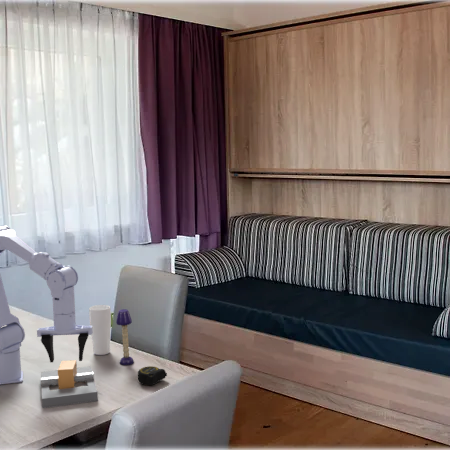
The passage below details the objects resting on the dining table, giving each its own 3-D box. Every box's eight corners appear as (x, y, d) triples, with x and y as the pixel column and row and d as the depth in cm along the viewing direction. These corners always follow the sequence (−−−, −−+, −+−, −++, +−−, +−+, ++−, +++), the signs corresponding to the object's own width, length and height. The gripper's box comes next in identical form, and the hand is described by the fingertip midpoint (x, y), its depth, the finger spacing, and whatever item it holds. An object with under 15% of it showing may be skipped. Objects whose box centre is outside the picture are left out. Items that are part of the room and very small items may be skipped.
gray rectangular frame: (42, 408, 164) (41, 398, 164) (41, 380, 183) (40, 371, 183) (97, 400, 168) (97, 391, 168) (91, 374, 187) (90, 366, 187)
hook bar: (41, 385, 172) (40, 380, 172) (41, 383, 174) (40, 377, 174) (94, 379, 176) (93, 373, 176) (93, 377, 178) (93, 371, 178)
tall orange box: (58, 391, 172) (57, 369, 171) (62, 381, 179) (61, 360, 178) (74, 390, 172) (72, 369, 171) (77, 380, 179) (76, 360, 178)
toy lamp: (130, 366, 193) (128, 312, 191) (115, 365, 194) (113, 311, 192) (135, 360, 198) (133, 308, 195) (121, 360, 198) (119, 307, 196)
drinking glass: (102, 357, 201) (100, 311, 199) (86, 354, 204) (84, 308, 202) (116, 351, 206) (115, 306, 204) (101, 348, 210) (99, 303, 208)
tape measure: (151, 389, 176) (151, 376, 175) (132, 384, 179) (132, 371, 179) (167, 381, 181) (166, 368, 181) (148, 376, 185) (148, 363, 184)
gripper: (93, 307, 177) (95, 354, 179) (39, 309, 176) (42, 356, 178) (90, 314, 170) (92, 363, 172) (34, 316, 169) (37, 365, 171)
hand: (66, 360), depth 174 cm, fingers open, 7 cm apart
